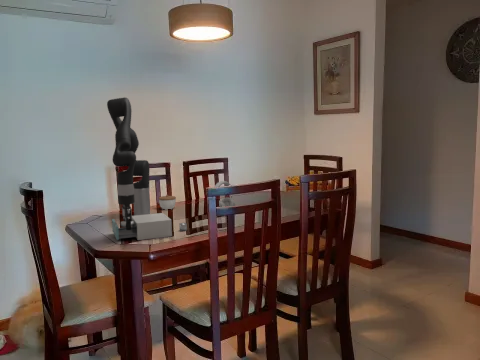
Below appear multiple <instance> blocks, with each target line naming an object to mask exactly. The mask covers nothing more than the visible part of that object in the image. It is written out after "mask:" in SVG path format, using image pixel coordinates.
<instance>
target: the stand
mask: <svg viewBox="0 0 480 360" xmlns="http://www.w3.org/2000/svg"><path fill="white" fill-rule="evenodd" d="M178 224H179V231H180V232H187V230H188V225H187V222H180V223H178Z"/></svg>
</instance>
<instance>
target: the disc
mask: <svg viewBox="0 0 480 360" xmlns="http://www.w3.org/2000/svg"><path fill="white" fill-rule="evenodd" d="M133 225H134V221H131V227H132V226H133ZM120 226H121V228H126V222H125V221H124V220H123V221H120Z"/></svg>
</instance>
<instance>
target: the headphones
mask: <svg viewBox="0 0 480 360" xmlns="http://www.w3.org/2000/svg"><path fill="white" fill-rule="evenodd" d="M222 185H225V186H226V187H227V186H228V185H231V183H230V182H228V181H226V180H225V181H223V180H222V181H217V182H216V184H215V185H214V187H219V188H220V187H221V186H222ZM219 206H220V207H222V206H235V207H236V202H235V200H234V199H233V195H232V196H231V195H230V197H229V196H228V197H223V199H222V200H219Z"/></svg>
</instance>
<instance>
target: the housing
mask: <svg viewBox="0 0 480 360" xmlns="http://www.w3.org/2000/svg"><path fill="white" fill-rule="evenodd" d="M132 221H134V225H133V226H131V227H136V226H137V237H135V239H136V240H137V241H144V240H151V239H162V238H168V237H169V238H170V237H173V233H172V232H173V228H172V226H173V225H172V224H173V223H172V219H171V218H170V217H168V216H167V215H166V214H165V213H164V212H159V213H150V214H146V215H135V216H134V215H132Z"/></svg>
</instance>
